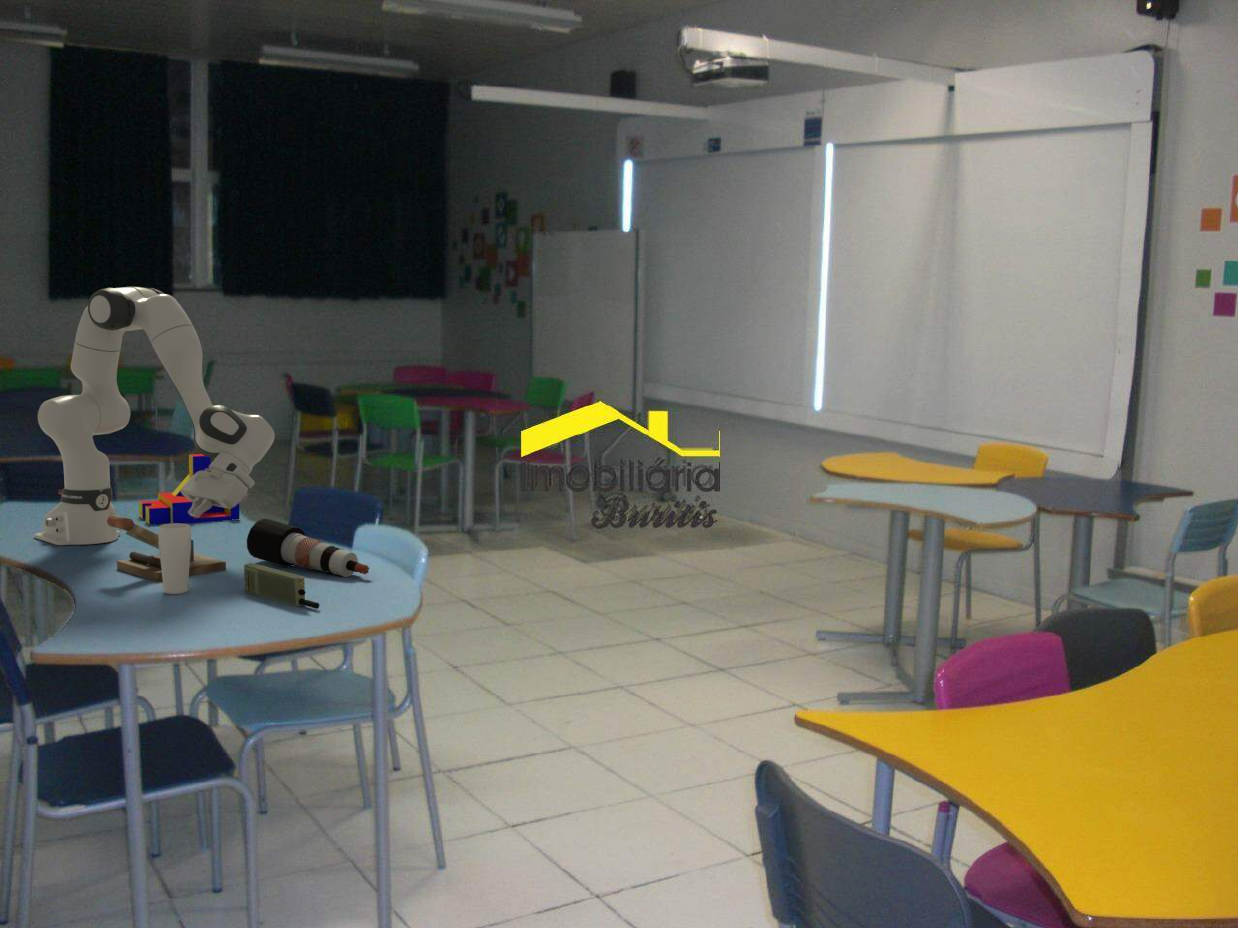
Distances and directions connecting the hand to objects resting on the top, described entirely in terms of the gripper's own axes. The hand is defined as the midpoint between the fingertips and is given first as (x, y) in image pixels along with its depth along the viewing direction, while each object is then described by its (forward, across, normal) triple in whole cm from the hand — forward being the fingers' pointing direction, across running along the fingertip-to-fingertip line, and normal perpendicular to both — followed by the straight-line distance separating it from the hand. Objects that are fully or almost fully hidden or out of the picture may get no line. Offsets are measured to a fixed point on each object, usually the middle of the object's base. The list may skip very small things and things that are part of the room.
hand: (192, 515), depth 293 cm
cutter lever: (+8, 0, +5) cm, 9 cm away
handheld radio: (+13, +43, +6) cm, 45 cm away
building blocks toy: (-15, -60, +33) cm, 70 cm away
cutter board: (+13, 0, +5) cm, 14 cm away
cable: (-4, +23, +22) cm, 32 cm away
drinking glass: (+21, +21, -3) cm, 30 cm away
